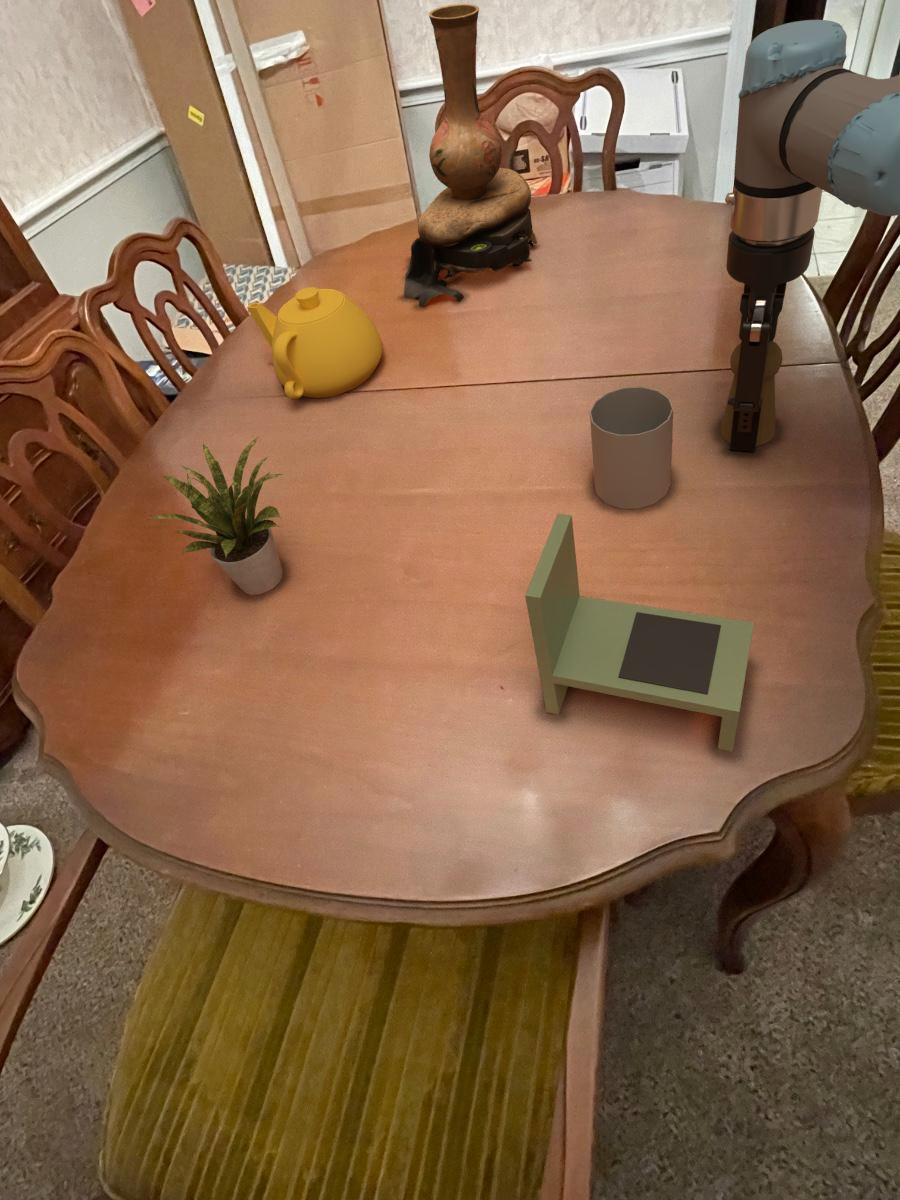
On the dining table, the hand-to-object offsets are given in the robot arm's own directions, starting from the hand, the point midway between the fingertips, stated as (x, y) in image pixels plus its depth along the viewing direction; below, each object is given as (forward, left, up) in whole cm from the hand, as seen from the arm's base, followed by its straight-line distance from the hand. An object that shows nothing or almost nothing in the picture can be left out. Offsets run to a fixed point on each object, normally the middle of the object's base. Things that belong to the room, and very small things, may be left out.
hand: (746, 428), depth 87 cm
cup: (+11, +11, 0) cm, 15 cm away
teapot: (+62, -7, 0) cm, 62 cm away
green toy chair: (+4, +38, 0) cm, 38 cm away
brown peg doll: (0, 0, 0) cm, 0 cm away
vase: (+49, -40, 0) cm, 63 cm away
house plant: (+48, +32, 0) cm, 58 cm away
